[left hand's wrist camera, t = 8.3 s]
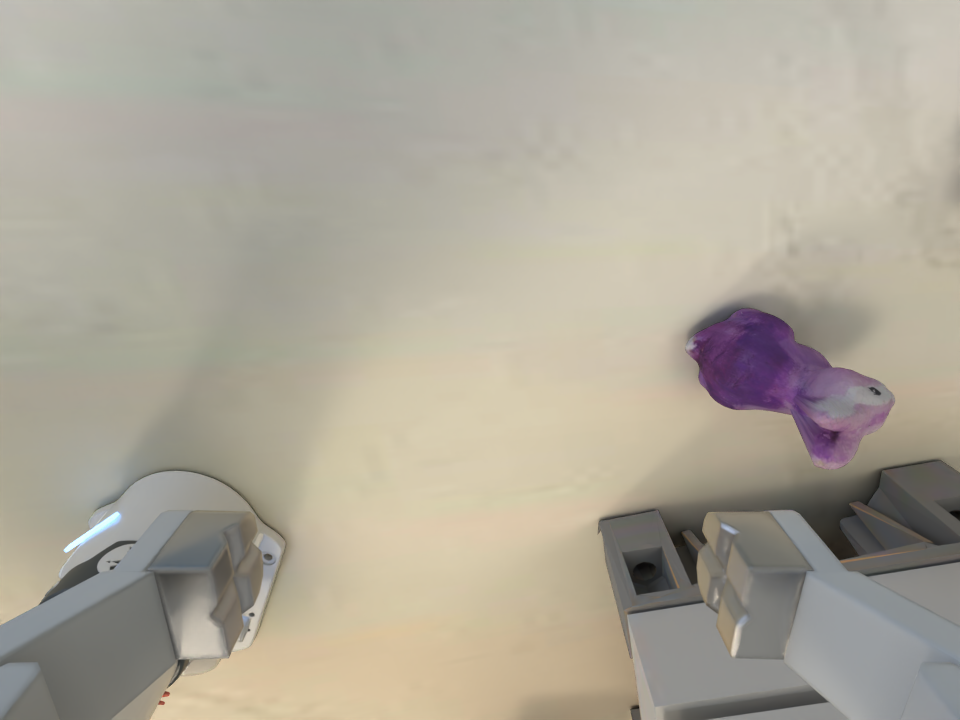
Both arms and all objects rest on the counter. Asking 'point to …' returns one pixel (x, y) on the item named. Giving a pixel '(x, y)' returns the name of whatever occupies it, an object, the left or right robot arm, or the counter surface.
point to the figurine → (789, 383)
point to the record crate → (692, 625)
